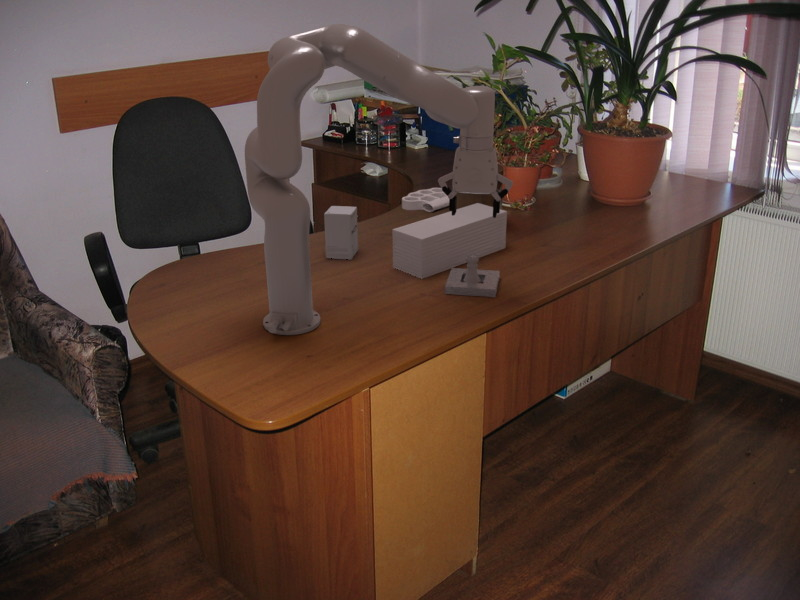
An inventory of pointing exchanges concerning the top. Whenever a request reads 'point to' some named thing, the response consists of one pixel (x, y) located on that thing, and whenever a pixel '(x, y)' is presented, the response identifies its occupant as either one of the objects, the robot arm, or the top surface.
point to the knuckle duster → (426, 200)
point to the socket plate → (472, 289)
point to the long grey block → (448, 240)
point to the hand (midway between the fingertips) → (474, 214)
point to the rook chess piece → (472, 269)
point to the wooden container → (478, 195)
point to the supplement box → (341, 232)
